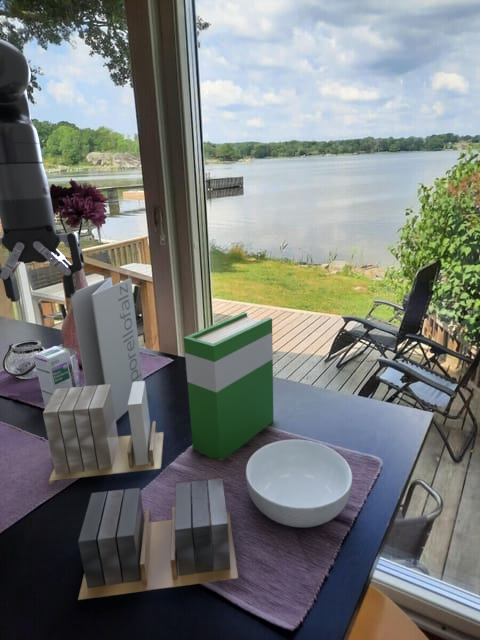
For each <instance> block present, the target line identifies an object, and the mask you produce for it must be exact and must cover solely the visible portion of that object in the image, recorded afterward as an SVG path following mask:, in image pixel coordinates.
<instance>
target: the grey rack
mask: <svg viewBox="0 0 480 640" xmlns="http://www.w3.org/2000/svg"><path fill="white" fill-rule="evenodd" d="M224 489H225V488H224V482H223V478H213V479H204V480H195V481H187V482H179V483H175V489H174V491H175V492H174V505H172V506H171V519H166V520H158V521H152V517H151V516H152V515H151V509H150V508H146V509H145V511H144V506H143V499H142V492H141V488H140V487H134V488H126V489H115V490H108V491H98V492H92V493H91V494H90V498H89V502H88V506H87V509H86V512H85V516H84V519H83V523H82V526H81V530H80V534H79V537H78V541H77V543H78V547H79V553H80V558H81V562H82V567H83V573H84V574H83V577H82V582H81V585H80V589H79V594H78V598H77V600H78V601H82V600H87V599H95V598H102V597H103V598H104V597H110V596H119V595H125V594H131V593H139V592H146V591H147V592H149V591H153V590H161V589H169V588H177V587H183V586H191V585H199V584H204V583H205V584H207V583H212V582H220V581H227V580H235V579H239V573H238V566H237V557H236V552H235V544H234V536H233V530H232V522H231V516H230V515H231V514H230V512H227V504H226V498H225V490H224Z"/></svg>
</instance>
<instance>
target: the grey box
mask: <svg viewBox="0 0 480 640" xmlns="http://www.w3.org/2000/svg"><path fill="white" fill-rule="evenodd" d="M132 282H133V281H132V278H131V277H130V278H127V279H125V280H122V281H121V282H118V283H116V284H113V277H111V276H110V277H107V278H105V279H103V280H100V281H98V282H95V283H93V284H90V285H87V286H85V287H83V288H80V289H78V290H76V292H75V293H74V295H73V297H72V298H70V301H71V308H72V314H73V320H74V326H75V332H76V338H77V344H78V350H79V356H80V362H81V367H82V373H83V379H84V384H85V386H94V385H97V386H98V385H106V384H110V386H111V392H112V399H113V406H114V413H115V419H116V422H117V421H118V420H119V419H120V418H121V417H123V415H125V414H126V413H127V412H129V411H128V401H129V397H130V392H131V388H132V383H133V382H138V381H144V375H143V367H142V359H141V351H140V342H139V334H138V325H137V324H138V323H137V317H136V309H135V301H134V300H135V299H134V291H133V290H134V289H133V283H132Z"/></svg>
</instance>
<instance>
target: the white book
mask: <svg viewBox="0 0 480 640" xmlns="http://www.w3.org/2000/svg"><path fill="white" fill-rule="evenodd" d="M146 385H147V384H146V380H143V381H138V382H133V383H132V388H131V392H130V397H129V401H128V411H127V412H128V419H129V425H130V434H131V433H132V441H133V448H134V455H135V463H136V465H145V464H149V457H150V452H149V448H150V440H151V431H152V426H151V420H150V410H149V403H148V395H147V386H146Z"/></svg>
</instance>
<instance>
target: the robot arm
mask: <svg viewBox="0 0 480 640" xmlns="http://www.w3.org/2000/svg"><path fill="white" fill-rule="evenodd" d="M30 67H31V66H30V64H29V62H28V59H27V57H26V56H25V55H24V53H23V52H22V51H21V50H20V49H19V48H18V47H16V45H14V44H12V43H10V42H9V41H7V40H4V39H1V38H0V224H1V228H2V231H3V234H2V236H0V250H1V249H2V245H3V247H4V248H5V249H7V250H8V252H10V255H9V256H8V259H6V261H5V265H4V266H3V267H2V265H1V264H2V263H0V279H1V280H2V283H3V287H4V292H5V296H6V299H10V302H11V303H16V302H18V301H19V300H21V293H20V290H19V285H18V281H17V276H14V274H15V273H16V270H17V269H18V268H19V266H20V265H21V263H23V264H25V265H26V264H32V263H41V264H42V263H46V262H49V263H50V264H51V265H52V266H53V267H55V268H57V269H58V270H59V271H60V272H61V273H62V274H63V275H62V281H63V287H64V292H65V293H64V294H65V297H66V299H71V298H72V297H73V295H74V293H75V292H76V291H78V290H77V282H76V281H77V280H76V276H75V273H77V272H80V271H81V270H83V268H84V267H85V266H86V262H85V258H84V254H83V249H82V244H81V240H80V235H79V233H78V231H76V230H73V231H71V232H68V233H59V231H58V230H57V226H56V221H55V220H56V219H55V214H54V210H53V209H54V208H53V203H52V197H51V191H50V185H49V180H48V174H47V173H46V169H45V165H44V161H43V160H44V159H43V155H42V149H41V148H42V147H41V144H40V139H39V135H38V131H37V129H36V127H35V125H34V124H33V122H32V116H31V115H32V114H31V110H30V104H29V99H28V98H29V97H28V91H27V89H28V88H29V86H30V83H31V78H32V77H31V76H32V75H31V74H32V73H31V68H30ZM61 242H62V243H63V244H64V247H67V248H69V253H70V256H71V261H72V264H71V263H70V261H68V260H67V259H66V256H65V255H64V254H63V253H62V252H61V251H60V250H59V249H57V248H58V246H60V243H61Z"/></svg>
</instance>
